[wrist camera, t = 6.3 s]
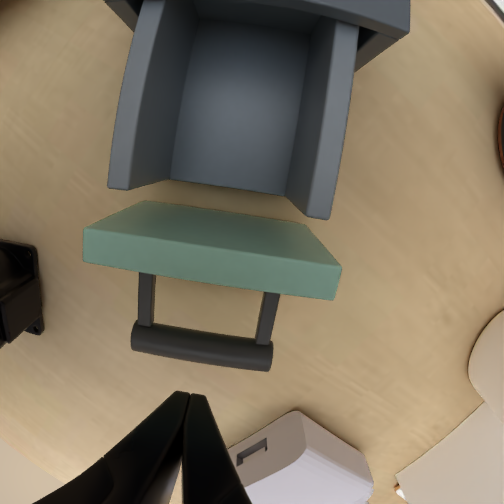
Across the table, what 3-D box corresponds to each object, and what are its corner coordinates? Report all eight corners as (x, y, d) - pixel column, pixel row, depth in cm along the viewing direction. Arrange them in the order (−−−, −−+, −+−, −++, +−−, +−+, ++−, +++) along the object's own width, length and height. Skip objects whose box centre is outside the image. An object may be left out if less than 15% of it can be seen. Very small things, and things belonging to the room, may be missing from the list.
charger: (318, 508, 26) (210, 457, 22) (392, 467, 24) (298, 404, 21) (324, 542, 21) (206, 503, 18) (407, 502, 19) (308, 454, 16)
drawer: (283, 326, 18) (301, 408, 11) (137, 303, 18) (90, 374, 11) (336, 36, 14) (384, -23, 7) (177, 13, 13) (142, -55, 7)
